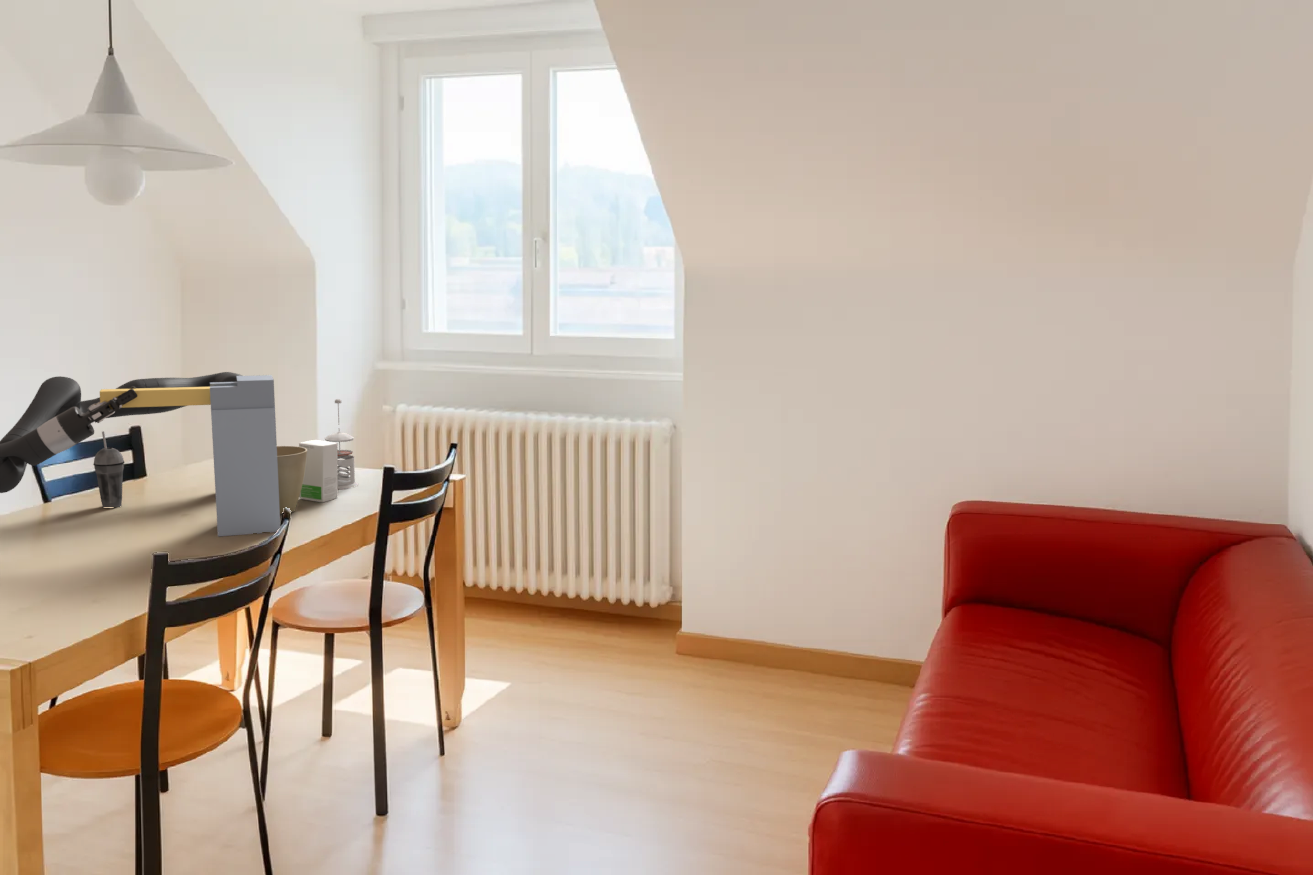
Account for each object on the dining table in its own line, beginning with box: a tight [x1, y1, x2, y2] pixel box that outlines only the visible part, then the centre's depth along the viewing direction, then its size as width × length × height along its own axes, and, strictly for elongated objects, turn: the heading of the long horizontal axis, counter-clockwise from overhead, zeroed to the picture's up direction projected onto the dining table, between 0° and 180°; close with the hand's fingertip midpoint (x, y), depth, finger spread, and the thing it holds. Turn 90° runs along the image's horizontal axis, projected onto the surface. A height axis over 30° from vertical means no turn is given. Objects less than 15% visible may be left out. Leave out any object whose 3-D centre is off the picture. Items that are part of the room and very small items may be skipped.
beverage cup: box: [92, 430, 125, 508], centre depth 285 cm, size 7×7×20 cm
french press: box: [324, 398, 359, 490], centre depth 314 cm, size 10×12×25 cm
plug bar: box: [99, 387, 211, 408], centre depth 255 cm, size 24×4×4 cm, turn 111°
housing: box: [210, 374, 281, 537], centre depth 264 cm, size 14×11×37 cm
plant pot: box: [277, 445, 307, 515], centre depth 283 cm, size 15×15×16 cm
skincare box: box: [298, 439, 339, 503], centre depth 298 cm, size 8×7×16 cm
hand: (135, 391), depth 253 cm, fingers closed on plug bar, 3 cm apart
